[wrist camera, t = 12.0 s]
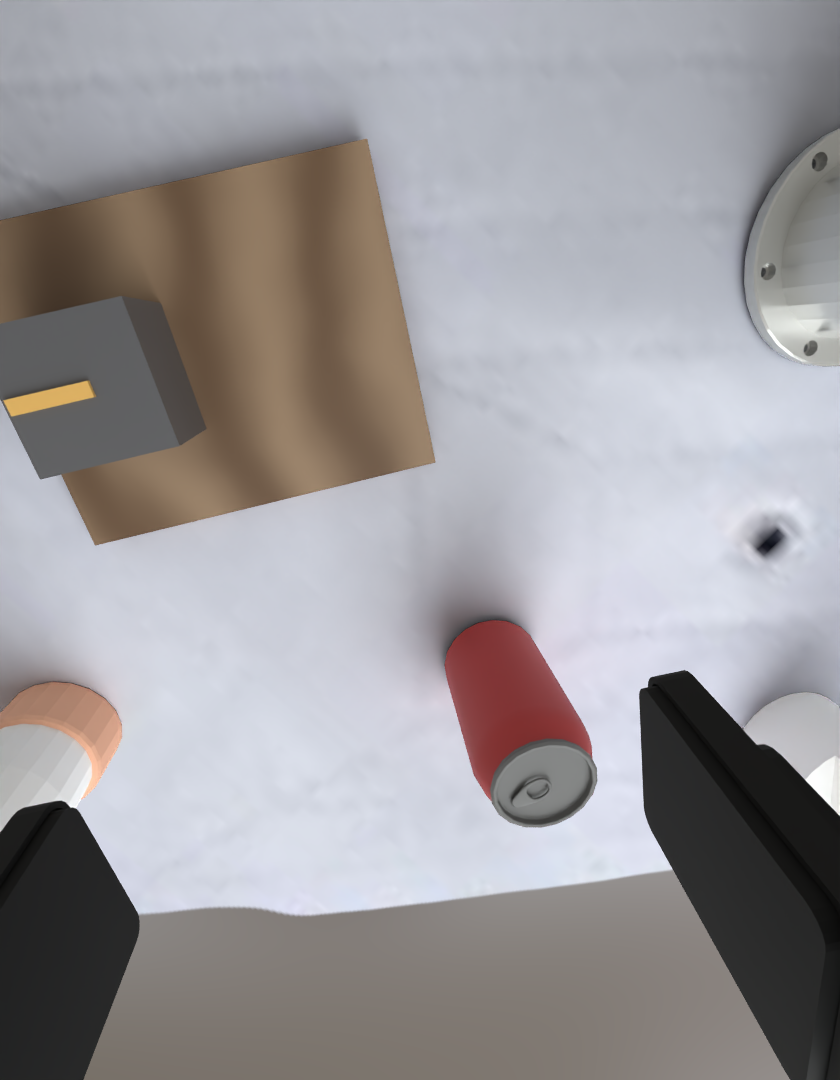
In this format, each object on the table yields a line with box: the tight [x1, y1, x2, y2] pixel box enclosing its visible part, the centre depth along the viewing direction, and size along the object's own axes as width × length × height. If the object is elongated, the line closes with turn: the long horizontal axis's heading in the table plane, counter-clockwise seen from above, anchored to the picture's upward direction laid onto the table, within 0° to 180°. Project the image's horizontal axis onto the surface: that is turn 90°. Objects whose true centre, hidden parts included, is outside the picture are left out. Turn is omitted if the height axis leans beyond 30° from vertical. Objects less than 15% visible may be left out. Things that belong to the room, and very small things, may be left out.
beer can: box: [445, 620, 597, 827], centre depth 33 cm, size 7×7×12 cm
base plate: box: [0, 139, 435, 545], centre depth 29 cm, size 20×16×2 cm
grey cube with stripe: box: [0, 296, 207, 479], centre depth 26 cm, size 6×6×5 cm
